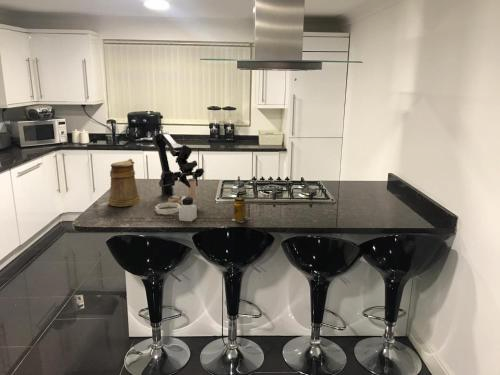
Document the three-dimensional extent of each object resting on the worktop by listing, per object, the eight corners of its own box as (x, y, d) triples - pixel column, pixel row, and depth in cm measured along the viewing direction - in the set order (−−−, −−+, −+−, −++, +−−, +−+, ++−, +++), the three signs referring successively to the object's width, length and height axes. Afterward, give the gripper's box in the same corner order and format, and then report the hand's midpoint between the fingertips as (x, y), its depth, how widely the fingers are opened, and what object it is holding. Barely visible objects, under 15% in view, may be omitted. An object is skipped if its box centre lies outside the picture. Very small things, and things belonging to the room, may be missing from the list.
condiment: (230, 220, 228) (230, 198, 224) (241, 216, 234) (241, 195, 231) (241, 223, 223) (240, 201, 220) (251, 218, 229) (251, 197, 226)
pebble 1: (171, 201, 258) (171, 196, 257) (173, 199, 261) (173, 195, 260) (176, 201, 258) (175, 196, 257) (178, 200, 260) (177, 195, 260)
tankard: (103, 207, 250) (99, 165, 243) (120, 196, 272) (117, 157, 266) (133, 208, 248) (129, 166, 241) (147, 197, 270) (145, 158, 264)
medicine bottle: (196, 217, 231) (196, 196, 228) (191, 221, 225) (190, 200, 222) (185, 216, 234) (184, 195, 231) (178, 220, 227) (177, 198, 224)
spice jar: (187, 198, 244) (187, 179, 241) (190, 196, 248) (189, 178, 245) (195, 198, 243) (194, 180, 240) (197, 196, 247) (197, 178, 244)
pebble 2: (174, 202, 256) (174, 197, 255) (176, 201, 258) (176, 196, 258) (179, 202, 255) (179, 198, 254) (181, 201, 258) (181, 196, 257)
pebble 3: (180, 201, 258) (180, 196, 257) (182, 199, 261) (182, 195, 260) (184, 201, 257) (184, 196, 256) (186, 200, 260) (186, 195, 259)
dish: (152, 214, 238) (151, 208, 237) (162, 206, 250) (162, 202, 249) (174, 215, 235) (174, 210, 234) (183, 208, 247) (183, 203, 246)
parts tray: (167, 203, 256) (167, 199, 255) (173, 200, 263) (173, 195, 263) (183, 204, 254) (183, 200, 253) (188, 201, 261) (188, 196, 260)
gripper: (172, 158, 237) (183, 181, 231) (202, 154, 248) (212, 176, 242) (167, 169, 245) (177, 192, 239) (195, 165, 256) (205, 187, 250)
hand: (193, 186), depth 242 cm, fingers closed on spice jar, 4 cm apart
